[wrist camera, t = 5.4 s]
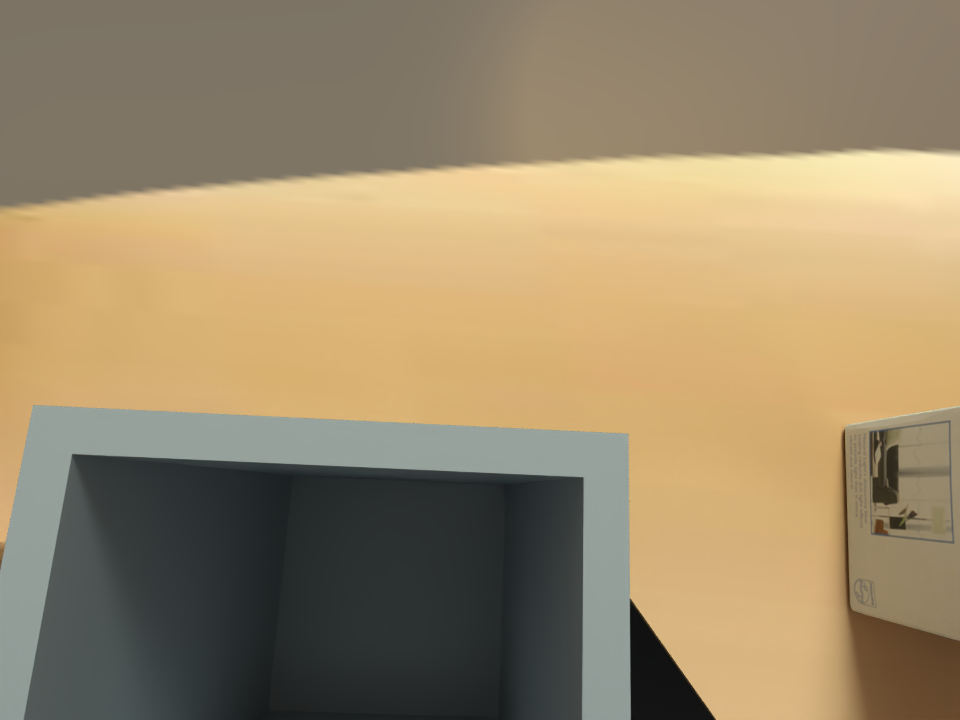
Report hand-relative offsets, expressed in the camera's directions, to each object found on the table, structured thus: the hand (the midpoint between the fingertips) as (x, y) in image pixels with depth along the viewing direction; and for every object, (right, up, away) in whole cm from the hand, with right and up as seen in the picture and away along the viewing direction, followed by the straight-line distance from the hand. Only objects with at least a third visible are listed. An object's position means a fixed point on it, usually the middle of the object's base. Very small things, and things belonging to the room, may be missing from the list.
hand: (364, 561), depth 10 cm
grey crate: (0, -3, +6) cm, 7 cm away
